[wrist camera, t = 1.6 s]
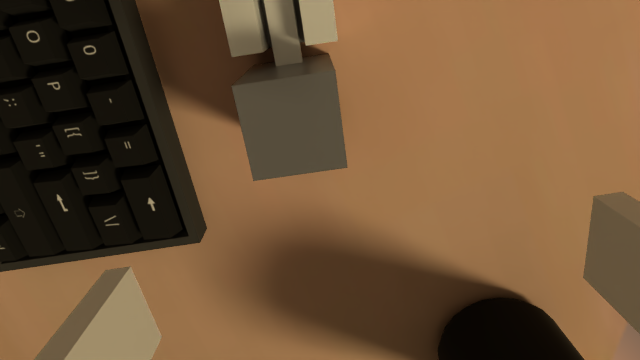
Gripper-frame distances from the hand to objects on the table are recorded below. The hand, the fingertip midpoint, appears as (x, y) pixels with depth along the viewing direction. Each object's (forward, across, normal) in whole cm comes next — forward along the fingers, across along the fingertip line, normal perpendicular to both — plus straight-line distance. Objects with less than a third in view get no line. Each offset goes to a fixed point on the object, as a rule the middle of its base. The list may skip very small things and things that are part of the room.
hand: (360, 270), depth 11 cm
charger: (+18, -2, +4) cm, 18 cm away
